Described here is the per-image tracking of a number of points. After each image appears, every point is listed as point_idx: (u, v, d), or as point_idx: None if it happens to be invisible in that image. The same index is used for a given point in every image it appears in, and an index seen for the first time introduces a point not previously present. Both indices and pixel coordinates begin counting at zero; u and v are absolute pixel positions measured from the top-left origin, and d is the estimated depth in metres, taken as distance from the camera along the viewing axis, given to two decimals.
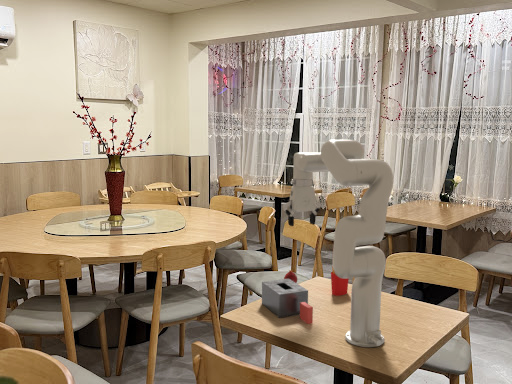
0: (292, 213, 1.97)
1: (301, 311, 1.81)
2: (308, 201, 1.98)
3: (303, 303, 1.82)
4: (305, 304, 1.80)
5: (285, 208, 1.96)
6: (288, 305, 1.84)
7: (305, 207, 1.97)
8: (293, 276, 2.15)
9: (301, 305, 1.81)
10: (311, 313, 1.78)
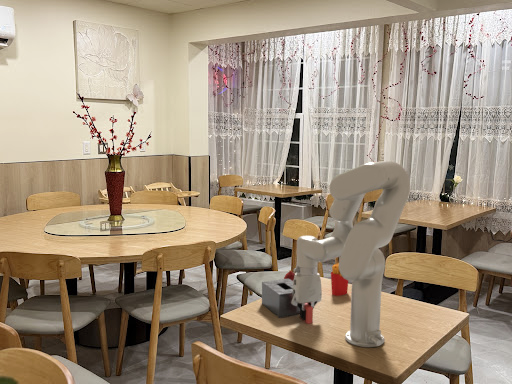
0: (304, 307, 1.78)
1: None
2: (313, 291, 1.77)
3: None
4: (305, 304, 1.80)
5: (295, 304, 1.77)
6: (288, 305, 1.84)
7: (310, 298, 1.77)
8: (293, 276, 2.15)
9: None
10: (311, 313, 1.78)
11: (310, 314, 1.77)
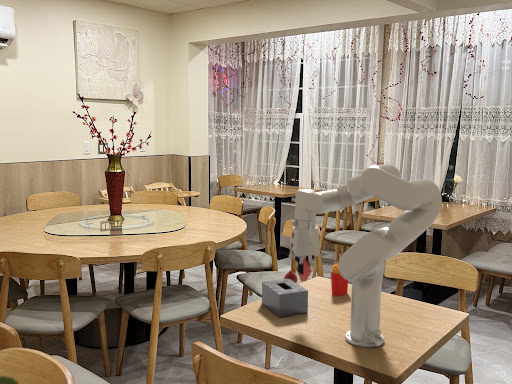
0: (302, 260, 1.78)
1: None
2: (311, 244, 1.76)
3: (303, 260, 1.79)
4: (305, 264, 1.78)
5: (293, 257, 1.77)
6: (288, 305, 1.84)
7: (308, 251, 1.76)
8: (293, 276, 2.15)
9: None
10: (308, 275, 1.78)
11: (307, 276, 1.78)
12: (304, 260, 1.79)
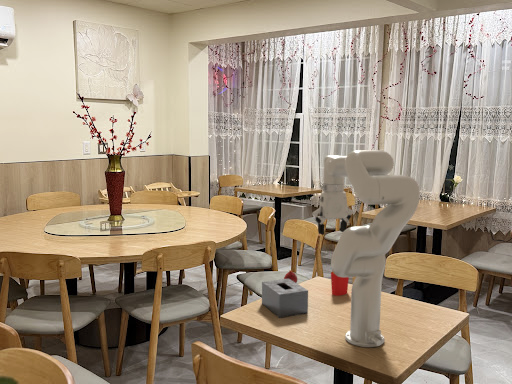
0: (322, 221, 1.84)
1: None
2: (340, 208, 1.84)
3: None
4: None
5: (315, 215, 1.83)
6: (288, 305, 1.84)
7: (336, 214, 1.84)
8: (293, 276, 2.15)
9: None
10: None
11: None
12: None
